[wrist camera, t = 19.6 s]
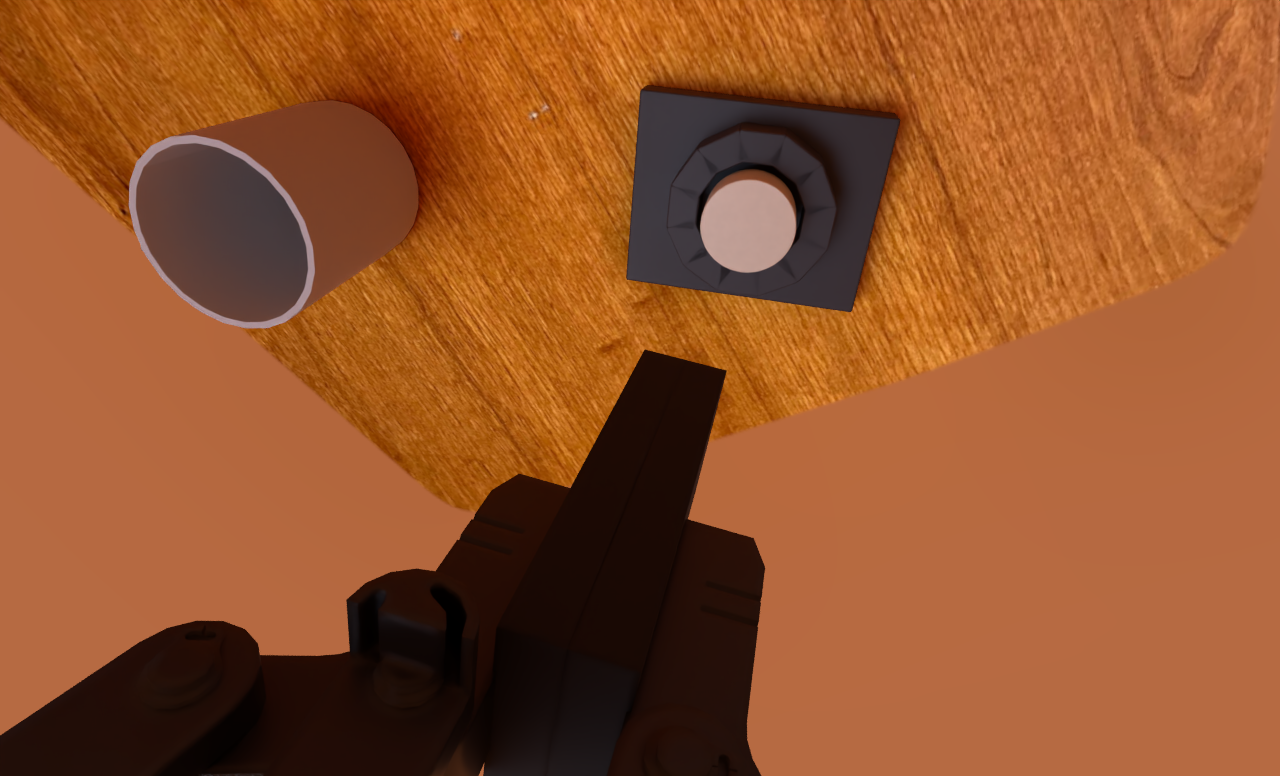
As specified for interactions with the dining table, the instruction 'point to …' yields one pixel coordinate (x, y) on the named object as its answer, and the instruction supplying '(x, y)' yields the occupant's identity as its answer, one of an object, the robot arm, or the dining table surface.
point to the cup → (272, 208)
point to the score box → (773, 142)
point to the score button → (749, 221)
